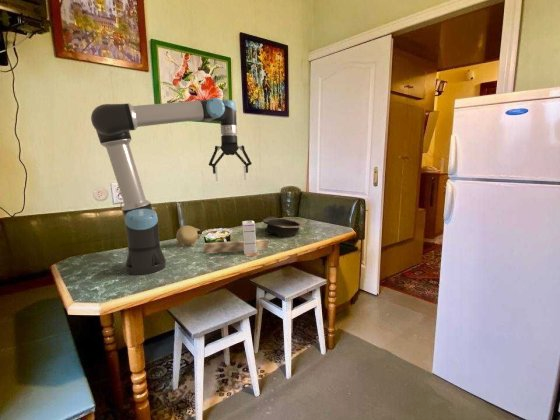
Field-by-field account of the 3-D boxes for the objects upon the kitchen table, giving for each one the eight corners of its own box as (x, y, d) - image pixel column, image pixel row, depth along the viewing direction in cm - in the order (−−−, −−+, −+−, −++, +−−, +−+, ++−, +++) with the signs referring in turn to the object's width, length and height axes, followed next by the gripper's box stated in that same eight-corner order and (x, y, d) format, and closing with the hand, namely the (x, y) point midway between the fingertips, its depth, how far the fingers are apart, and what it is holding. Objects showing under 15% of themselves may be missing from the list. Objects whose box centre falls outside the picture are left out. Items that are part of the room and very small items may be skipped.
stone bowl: (252, 233, 175) (253, 217, 174) (284, 229, 192) (285, 214, 191) (281, 241, 157) (282, 223, 156) (314, 235, 174) (314, 219, 173)
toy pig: (204, 246, 153) (203, 225, 151) (180, 250, 146) (178, 229, 144) (198, 241, 161) (196, 222, 159) (174, 245, 154) (173, 225, 152)
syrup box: (256, 253, 140) (255, 222, 137) (243, 254, 139) (242, 223, 136) (255, 249, 145) (254, 220, 143) (243, 250, 144) (241, 220, 142)
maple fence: (202, 259, 132) (202, 251, 132) (204, 251, 144) (204, 243, 143) (270, 254, 138) (270, 246, 137) (267, 247, 149) (267, 239, 148)
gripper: (201, 134, 138) (204, 181, 142) (256, 134, 142) (257, 180, 146) (202, 135, 145) (205, 180, 149) (254, 135, 149) (255, 178, 153)
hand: (231, 180), depth 147 cm, fingers open, 13 cm apart
